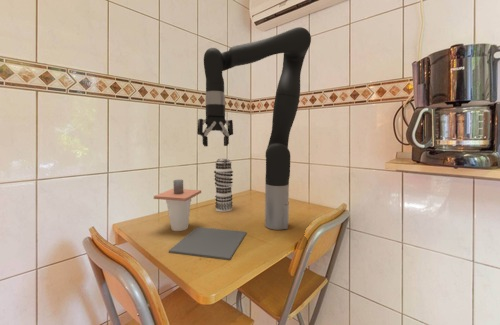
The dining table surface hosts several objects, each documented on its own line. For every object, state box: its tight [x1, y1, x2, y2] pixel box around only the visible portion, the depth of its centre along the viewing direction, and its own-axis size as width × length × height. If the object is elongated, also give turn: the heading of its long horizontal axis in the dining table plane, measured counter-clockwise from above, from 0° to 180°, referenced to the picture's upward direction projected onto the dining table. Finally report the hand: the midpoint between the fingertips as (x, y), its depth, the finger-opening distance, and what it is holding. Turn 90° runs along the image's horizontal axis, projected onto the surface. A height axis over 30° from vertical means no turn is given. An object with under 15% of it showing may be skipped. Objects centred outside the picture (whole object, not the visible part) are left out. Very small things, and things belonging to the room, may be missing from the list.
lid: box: [153, 179, 202, 201], centre depth 92 cm, size 13×13×6 cm
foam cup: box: [165, 198, 192, 232], centre depth 93 cm, size 10×9×13 cm
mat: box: [168, 226, 247, 261], centre depth 82 cm, size 20×20×1 cm
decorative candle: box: [213, 158, 234, 213], centre depth 117 cm, size 9×9×25 cm
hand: (215, 146), depth 94 cm, fingers open, 8 cm apart
